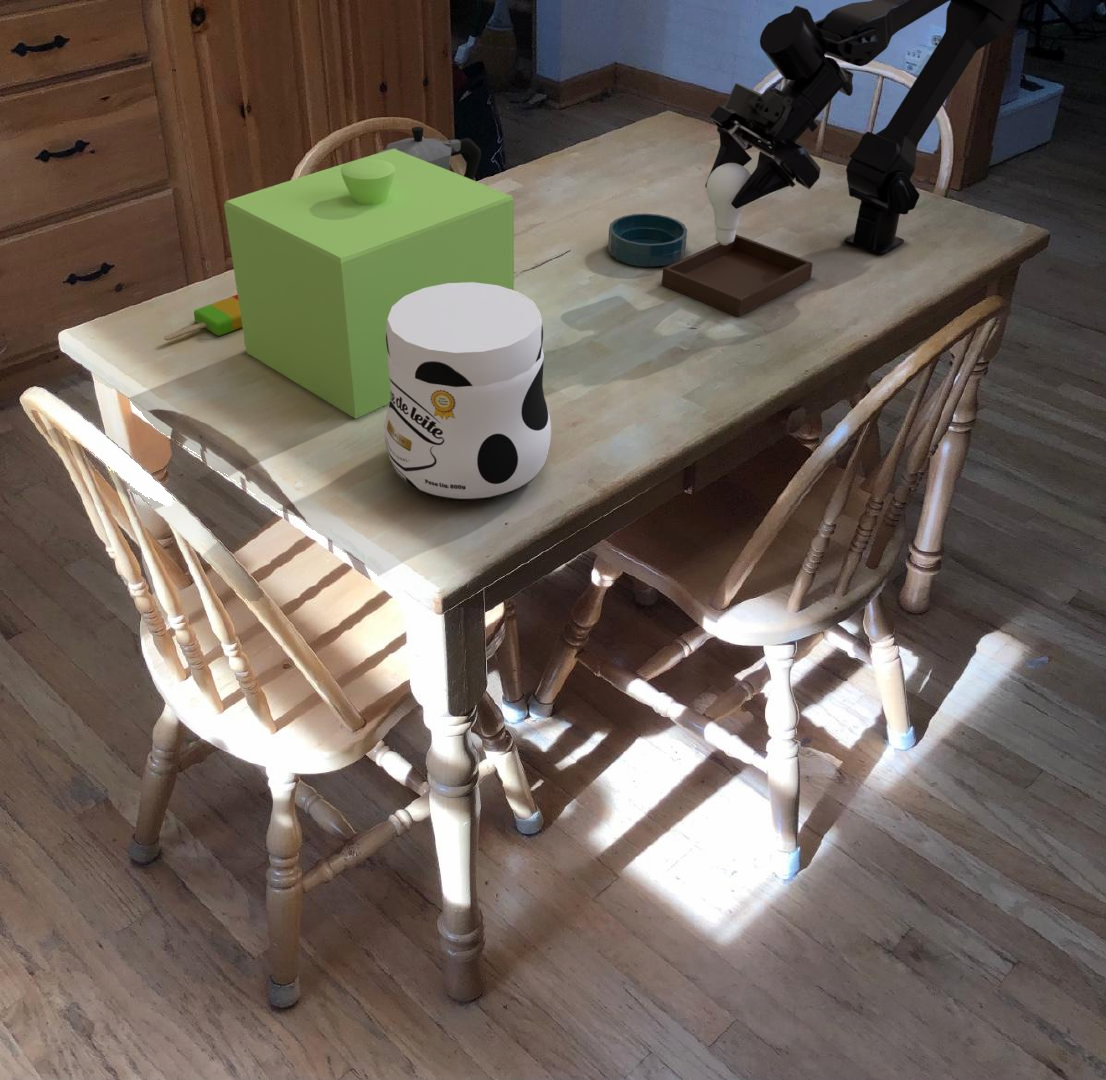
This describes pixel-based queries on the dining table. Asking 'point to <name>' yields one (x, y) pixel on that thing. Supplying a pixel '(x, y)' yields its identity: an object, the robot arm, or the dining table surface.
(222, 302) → the popsicle
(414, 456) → the milk container
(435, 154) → the coffeepot
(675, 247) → the bowl
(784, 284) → the tray
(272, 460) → the dining table surface
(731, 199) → the lightbulb
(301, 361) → the canister
